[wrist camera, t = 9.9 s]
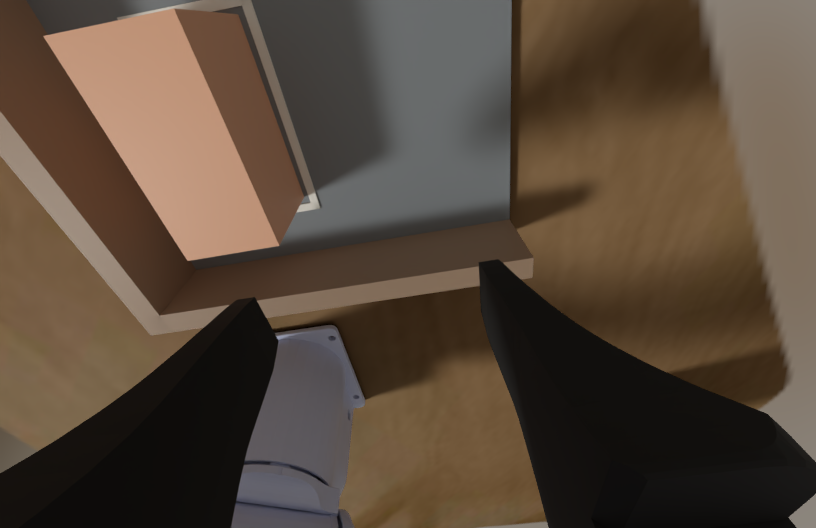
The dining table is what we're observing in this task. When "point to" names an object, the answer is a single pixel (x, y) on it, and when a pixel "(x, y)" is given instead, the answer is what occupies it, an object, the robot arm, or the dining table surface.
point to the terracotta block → (189, 125)
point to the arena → (293, 154)
